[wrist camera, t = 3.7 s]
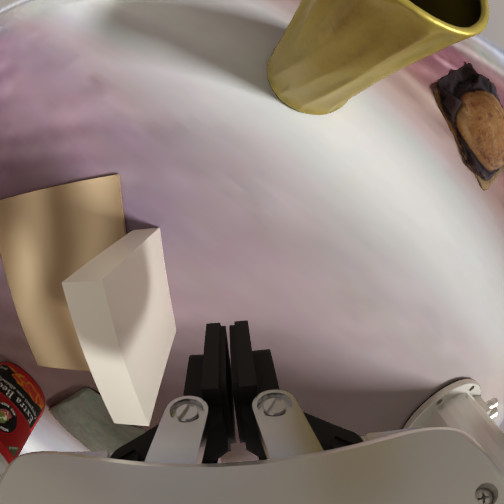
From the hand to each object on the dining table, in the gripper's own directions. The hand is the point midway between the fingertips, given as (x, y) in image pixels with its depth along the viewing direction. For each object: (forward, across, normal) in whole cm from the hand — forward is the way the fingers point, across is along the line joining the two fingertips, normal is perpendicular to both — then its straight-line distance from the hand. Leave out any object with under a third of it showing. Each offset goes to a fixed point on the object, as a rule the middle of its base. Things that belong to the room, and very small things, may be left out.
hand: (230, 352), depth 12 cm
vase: (+10, -7, -14) cm, 18 cm away
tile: (+10, +5, 0) cm, 11 cm away
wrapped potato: (+10, -23, -11) cm, 27 cm away
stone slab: (+10, +13, +22) cm, 28 cm away
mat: (+10, +13, 0) cm, 17 cm away
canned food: (+10, +25, +12) cm, 30 cm away
